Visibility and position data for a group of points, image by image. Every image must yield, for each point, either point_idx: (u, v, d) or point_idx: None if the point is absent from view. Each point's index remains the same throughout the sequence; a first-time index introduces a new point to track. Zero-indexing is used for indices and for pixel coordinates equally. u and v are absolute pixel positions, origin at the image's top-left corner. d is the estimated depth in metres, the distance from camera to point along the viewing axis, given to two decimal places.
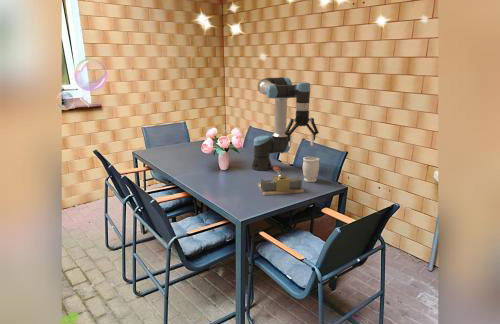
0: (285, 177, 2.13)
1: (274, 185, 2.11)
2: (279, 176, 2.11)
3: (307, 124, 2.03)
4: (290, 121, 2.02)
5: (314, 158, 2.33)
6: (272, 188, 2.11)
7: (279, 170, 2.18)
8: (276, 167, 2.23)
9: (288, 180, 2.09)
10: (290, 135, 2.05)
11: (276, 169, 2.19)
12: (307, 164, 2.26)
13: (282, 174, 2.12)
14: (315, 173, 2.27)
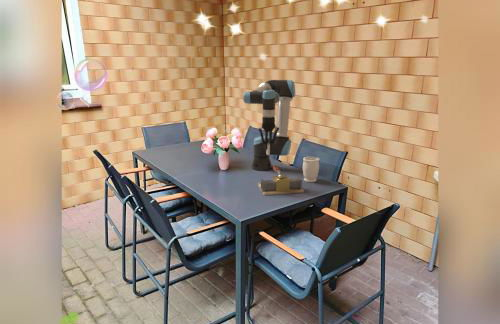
0: (285, 177, 2.13)
1: (274, 185, 2.11)
2: (279, 176, 2.11)
3: (271, 131, 2.12)
4: None
5: (314, 158, 2.33)
6: (272, 188, 2.11)
7: (279, 170, 2.18)
8: (276, 167, 2.23)
9: (288, 180, 2.09)
10: (267, 144, 2.16)
11: (276, 169, 2.19)
12: (307, 164, 2.26)
13: (282, 174, 2.12)
14: (315, 173, 2.27)
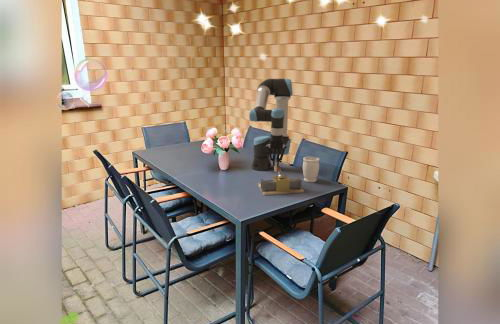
0: (285, 177, 2.13)
1: (274, 185, 2.11)
2: (279, 176, 2.11)
3: (278, 149, 2.15)
4: (267, 148, 2.16)
5: (314, 158, 2.33)
6: (272, 188, 2.11)
7: (280, 170, 2.18)
8: (277, 167, 2.23)
9: (288, 180, 2.09)
10: (275, 161, 2.19)
11: (277, 169, 2.19)
12: (307, 164, 2.26)
13: (282, 174, 2.12)
14: (315, 173, 2.27)
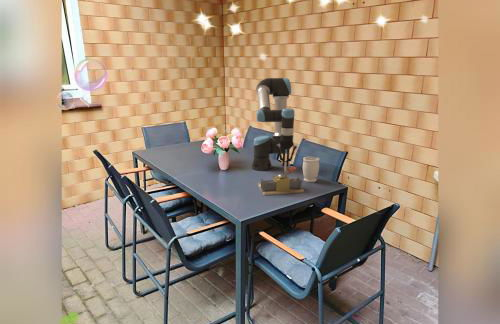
0: (285, 177, 2.13)
1: (274, 185, 2.11)
2: (278, 175, 2.12)
3: (288, 149, 2.14)
4: (277, 147, 2.17)
5: (314, 158, 2.33)
6: (272, 188, 2.11)
7: (287, 171, 2.16)
8: (290, 168, 2.21)
9: (288, 180, 2.09)
10: (285, 161, 2.19)
11: (286, 169, 2.18)
12: (307, 164, 2.26)
13: (282, 174, 2.12)
14: (315, 173, 2.27)
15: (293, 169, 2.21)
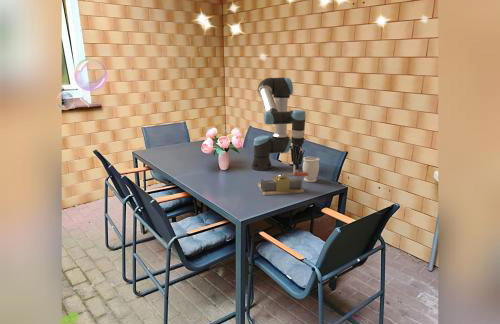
0: (285, 177, 2.13)
1: (274, 185, 2.11)
2: (279, 175, 2.13)
3: (295, 151, 2.09)
4: None
5: (314, 158, 2.33)
6: (272, 188, 2.11)
7: (291, 173, 2.12)
8: (300, 172, 2.13)
9: (288, 180, 2.09)
10: None
11: (294, 172, 2.13)
12: (307, 164, 2.26)
13: (282, 175, 2.11)
14: (315, 173, 2.27)
15: (303, 174, 2.12)
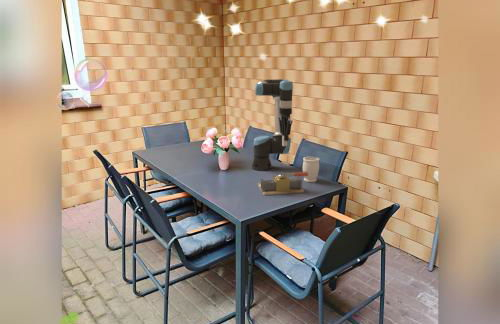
0: (285, 177, 2.13)
1: (274, 185, 2.11)
2: (279, 175, 2.13)
3: (284, 122, 2.11)
4: None
5: (314, 158, 2.33)
6: (272, 188, 2.11)
7: (291, 173, 2.12)
8: (300, 172, 2.13)
9: (288, 180, 2.09)
10: None
11: (294, 172, 2.13)
12: (307, 164, 2.26)
13: (282, 175, 2.11)
14: (315, 173, 2.27)
15: (303, 174, 2.12)
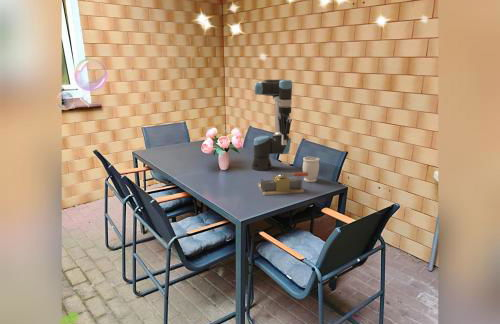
0: (285, 177, 2.13)
1: (274, 185, 2.11)
2: (279, 175, 2.13)
3: (283, 121, 2.11)
4: None
5: (314, 158, 2.33)
6: (272, 188, 2.11)
7: (291, 173, 2.12)
8: (300, 172, 2.13)
9: (288, 180, 2.09)
10: None
11: (294, 172, 2.13)
12: (307, 164, 2.26)
13: (282, 175, 2.11)
14: (315, 173, 2.27)
15: (303, 174, 2.12)
